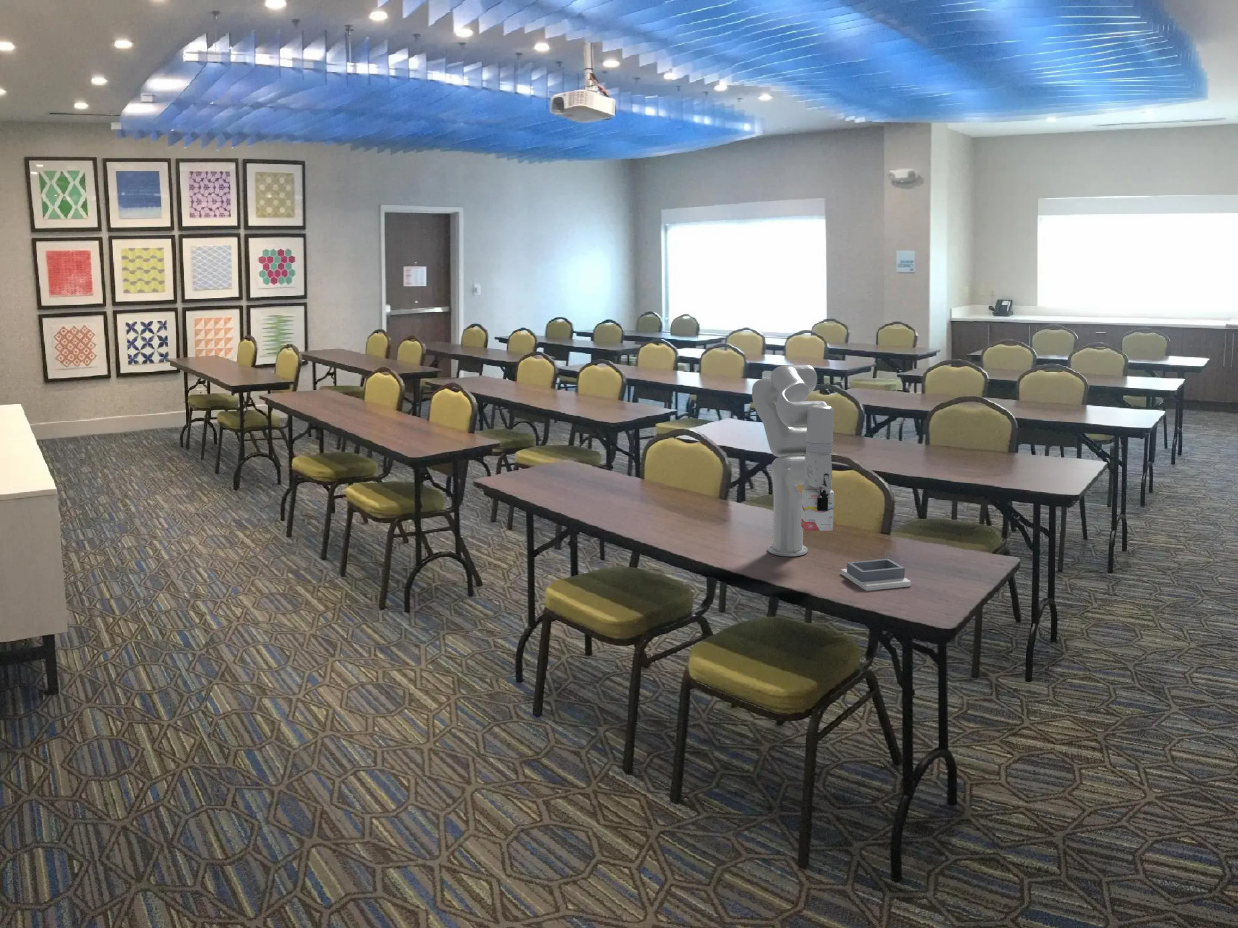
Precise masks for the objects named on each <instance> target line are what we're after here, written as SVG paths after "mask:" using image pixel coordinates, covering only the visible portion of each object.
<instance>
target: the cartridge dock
mask: <svg viewBox="0 0 1238 928" xmlns="http://www.w3.org/2000/svg"><path fill="white" fill-rule="evenodd" d="M905 570H906V569H905V567H904V566H902V565H900V564H898V563H897V562H895V561H893V560H891V559H890V558H881V559H871V560H861V561H860V560H859V561H849V562H847V563H846V568H841V569H840V574H841V575H842V576H843V577H844V578H846V579H847V580H849V581H851V582H852V583H854V584H856V585H857V586H859V587H860V588H861V589H863V590H865V592H867V591H877V590H886V589H895V588H896V589H898V588H908V587H911V586H912V581H911V580H910V579H908V578H906V577H905V572H906V571H905Z"/></svg>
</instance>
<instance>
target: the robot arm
mask: <svg viewBox="0 0 1238 928" xmlns="http://www.w3.org/2000/svg"><path fill="white" fill-rule="evenodd" d="M817 384H818V374H817V372H816V370H815V368H814V367H813V366H811V365H809V364H788V365H787V364H786V365H779V366H777V367H776V368H774V369H773V370H772V372H771V373H770V377H763V378H760V379H758V380H756V381H754V383H753V384H752V388H751V397H752V398H751V399H752V403H753V406H754V409H755V411H756V414H757V415H758V417H759V419H760V420H761V422H762V425H763V427H764V432H765V435H766V436H765V437H766V439H767V444H768V447H769V450H770V452H771V454H772V455H773V456H775V457H776V458H775V459H774V460H773V461H772V462H771V466H770V472H771V480H772V487H773V488H772V489H773V510H772V511H773V518H772V520H773V522H772V523H773V525H772V527H773V529H772V544H770V545H769V546H768V547H767V551H768V552H769V553H770V554H772V555H775V556H780V557H788V558H789V557H791V558H792V557H799V556H804V555H806V554H807V553H808V547H807V546H806V545H804V529H803V528H802V527H801V516H802V492H800V491H799V490H798V488H797V486H801V485H803V482H804V479H806V484H808V485H810V486H812V487H814V488H818V495H819V497H818V498H817V511H827V510H828V497H829V493H830V491H831V490H832V491H833V489H832V484H833V465H832V464H833V463H832V461H833V460H832V454H833V445H834V443H833V441H834V438H833V437H834V408H833V407H832V406H830V405H828V404H827V402H825V401H824V400H823V401H822V400H807V399H808V397H809V396H810V394H811V393H812V392H813V391H814V390H815V389H816V387H817ZM821 485H824V486H825V487H821ZM821 489H825V490H823V491H822V492H821Z"/></svg>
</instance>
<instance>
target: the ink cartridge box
mask: <svg viewBox="0 0 1238 928" xmlns="http://www.w3.org/2000/svg"><path fill="white" fill-rule="evenodd" d="M821 487H825V486H824V485H821ZM823 490H825V489H821V492H822V491H823ZM801 495H802V516H801V527H802V528H803V531H804V532H814V531H815V532H817V531H820V532H823V531H824V532H825V531H826V532H828V531H829V532H830V531H833V528H834V512H835V511H834V510H835V509H834V508H835V492H834V490H833V489H832V490H831V491H830V493H829V497H828V510H827V511H817V498H818V497H819V495H818V488H814V487H812V486H810V485H808V484H806V479H804V482H803V488H802V491H801Z"/></svg>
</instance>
